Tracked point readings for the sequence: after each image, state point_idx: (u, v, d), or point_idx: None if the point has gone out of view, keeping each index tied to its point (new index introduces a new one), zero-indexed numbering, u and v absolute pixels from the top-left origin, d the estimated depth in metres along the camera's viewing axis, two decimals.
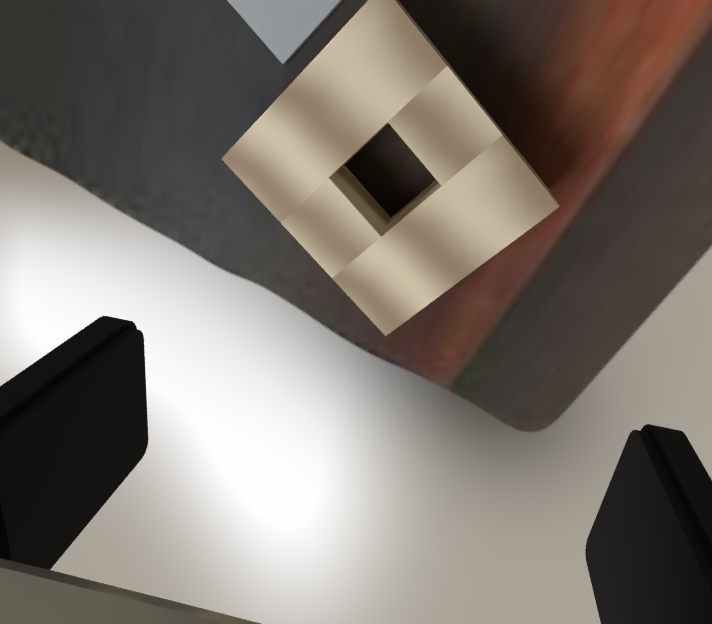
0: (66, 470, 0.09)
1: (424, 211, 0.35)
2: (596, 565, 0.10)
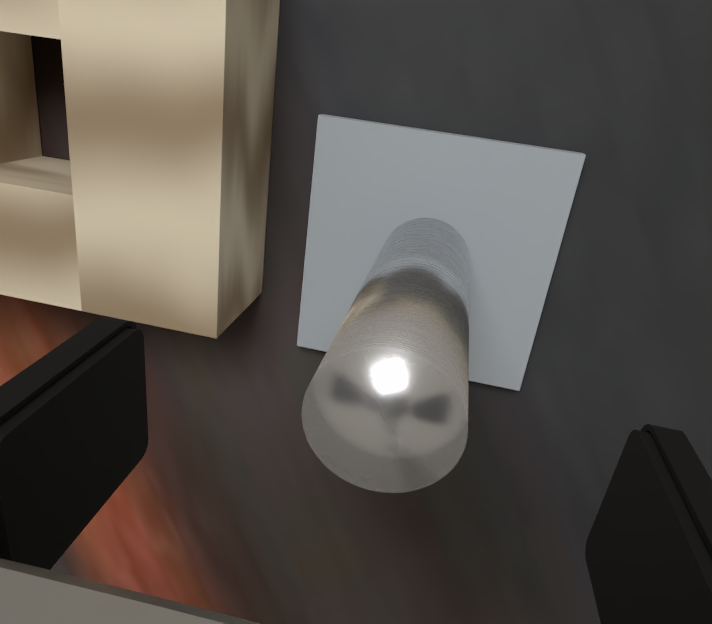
0: (66, 470, 0.09)
1: None
2: (596, 565, 0.10)
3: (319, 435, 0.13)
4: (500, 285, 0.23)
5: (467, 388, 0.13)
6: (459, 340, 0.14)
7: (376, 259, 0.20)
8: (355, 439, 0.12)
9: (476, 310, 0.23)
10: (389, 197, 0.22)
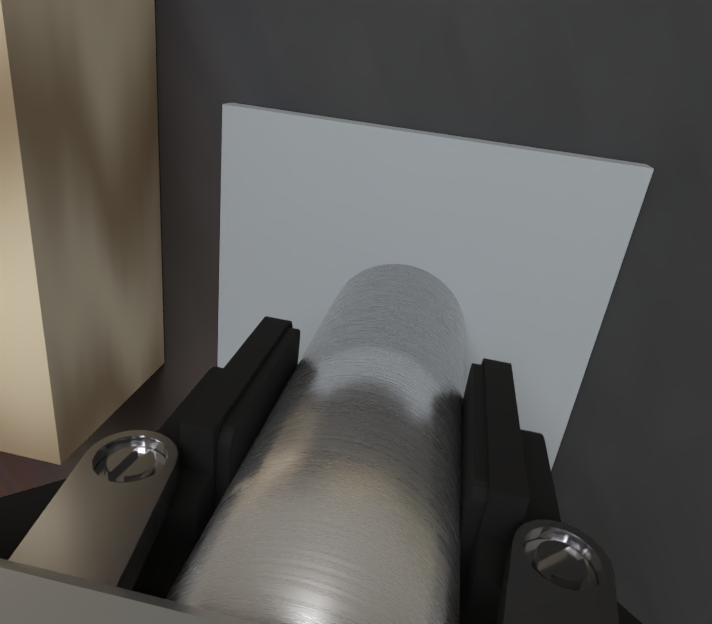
0: None
1: None
2: None
3: None
4: None
5: None
6: None
7: (308, 347, 0.12)
8: None
9: None
10: (339, 233, 0.14)
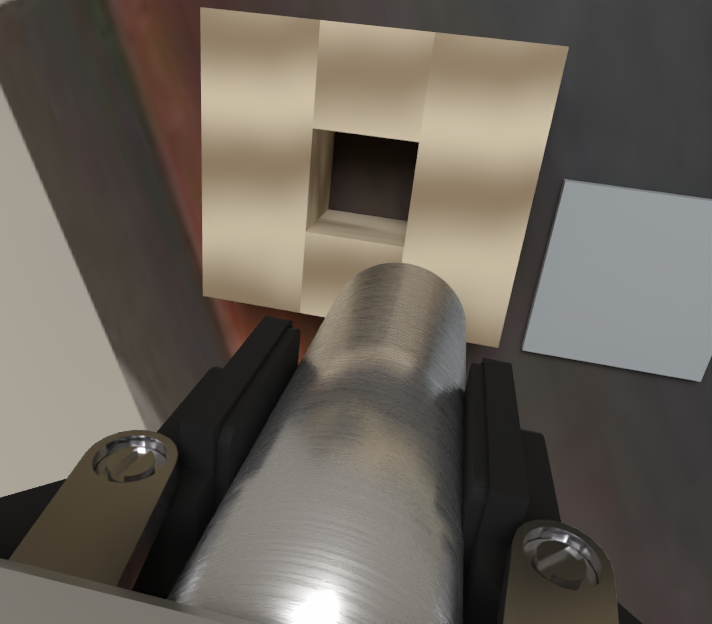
0: None
1: (298, 193, 0.28)
2: None
3: None
4: (694, 303, 0.30)
5: None
6: None
7: (310, 346, 0.12)
8: None
9: (673, 322, 0.31)
10: (614, 239, 0.30)
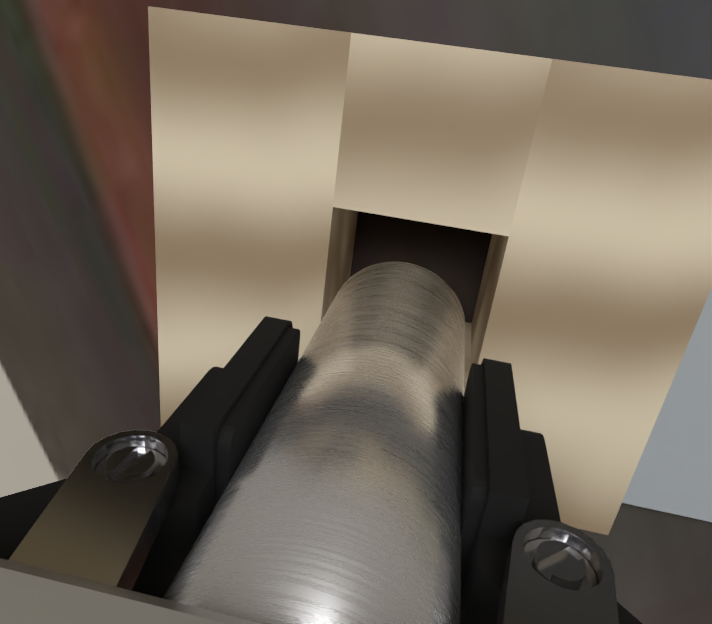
0: None
1: (306, 303, 0.18)
2: None
3: None
4: None
5: None
6: None
7: (308, 345, 0.12)
8: None
9: None
10: None
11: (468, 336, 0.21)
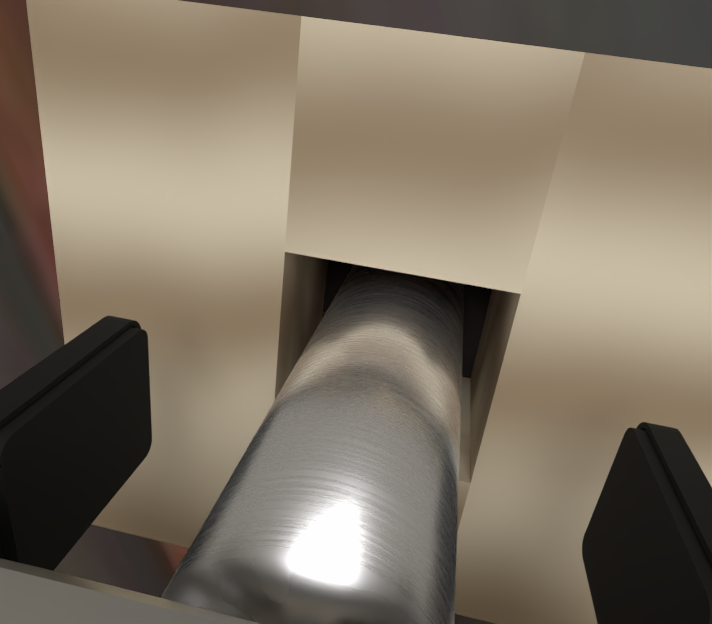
0: (71, 469, 0.09)
1: (255, 373, 0.13)
2: (592, 562, 0.10)
3: None
4: None
5: (453, 584, 0.07)
6: (441, 479, 0.08)
7: (332, 301, 0.14)
8: None
9: None
10: None
11: (466, 398, 0.17)
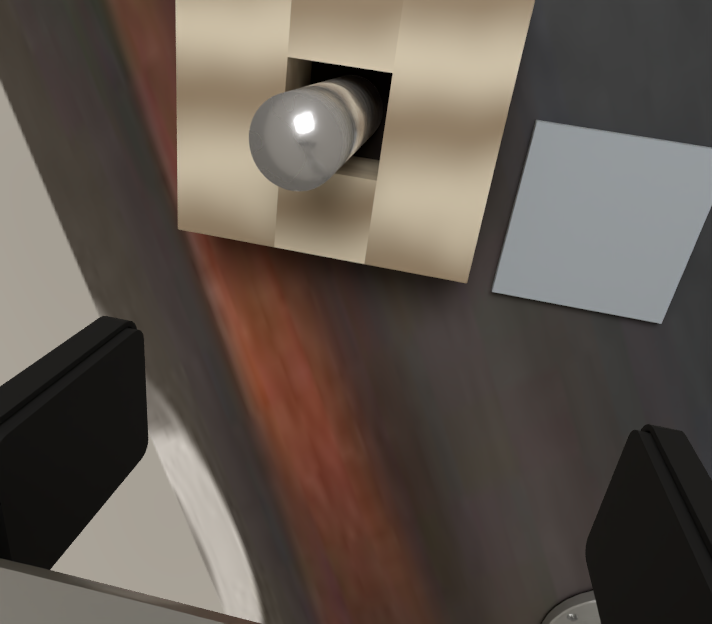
0: (66, 470, 0.09)
1: None
2: (596, 565, 0.10)
3: (259, 154, 0.21)
4: (657, 245, 0.32)
5: (347, 129, 0.22)
6: (347, 109, 0.23)
7: None
8: (280, 154, 0.21)
9: (637, 264, 0.32)
10: (582, 181, 0.31)
11: None
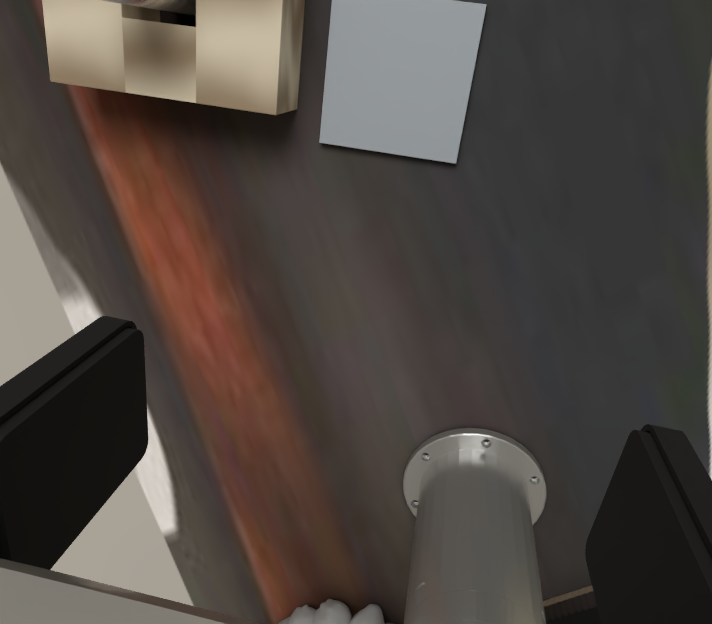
0: (66, 470, 0.09)
1: None
2: (596, 565, 0.10)
3: None
4: (442, 91, 0.38)
5: None
6: None
7: None
8: None
9: (428, 109, 0.39)
10: (375, 37, 0.38)
11: None
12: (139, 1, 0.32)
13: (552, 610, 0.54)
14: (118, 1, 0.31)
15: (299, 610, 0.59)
